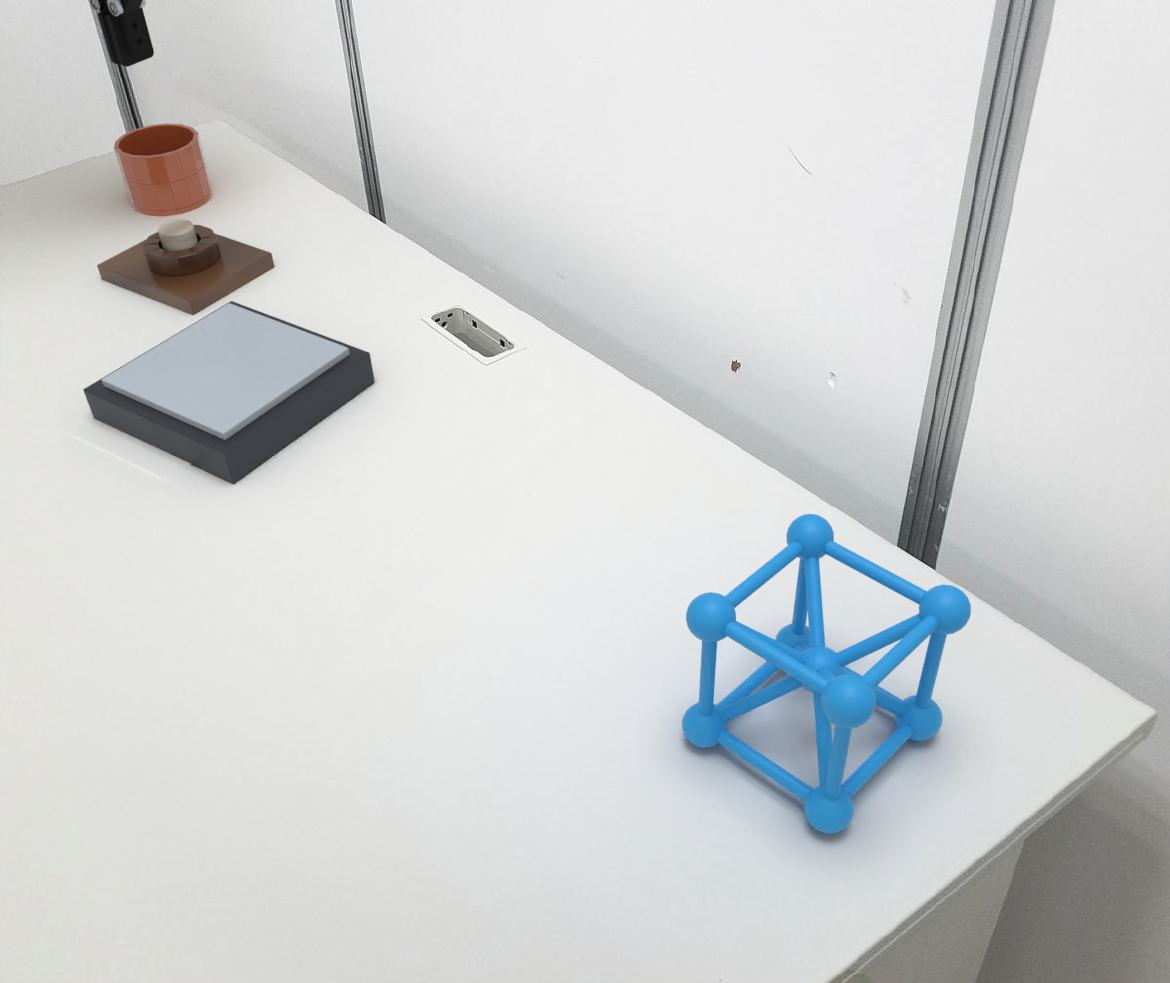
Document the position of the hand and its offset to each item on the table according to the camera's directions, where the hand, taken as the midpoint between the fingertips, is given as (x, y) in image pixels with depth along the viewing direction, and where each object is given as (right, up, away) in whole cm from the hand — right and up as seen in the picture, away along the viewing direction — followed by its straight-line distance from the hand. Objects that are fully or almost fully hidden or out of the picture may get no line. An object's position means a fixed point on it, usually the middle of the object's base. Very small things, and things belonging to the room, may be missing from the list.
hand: (133, 59), depth 100 cm
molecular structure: (+49, -51, -38) cm, 80 cm away
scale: (+13, -30, -14) cm, 36 cm away
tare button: (+5, -16, -2) cm, 17 cm away
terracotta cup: (0, -8, +10) cm, 13 cm away
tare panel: (+5, -18, 0) cm, 18 cm away
